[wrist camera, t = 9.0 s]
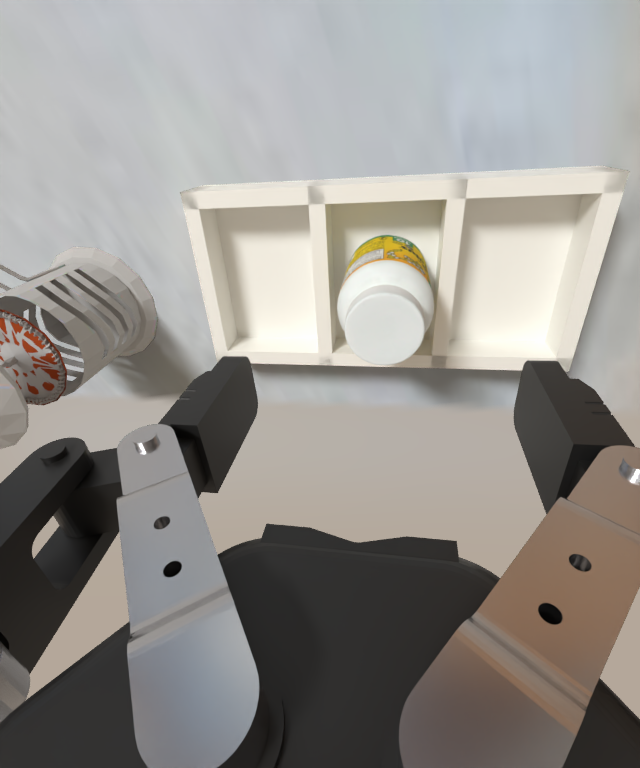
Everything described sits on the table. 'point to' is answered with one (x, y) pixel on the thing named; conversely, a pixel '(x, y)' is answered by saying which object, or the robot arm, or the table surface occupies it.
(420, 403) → the table surface
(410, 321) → the supplement bottle
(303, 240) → the rack
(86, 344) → the french press
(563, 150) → the table surface
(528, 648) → the robot arm
